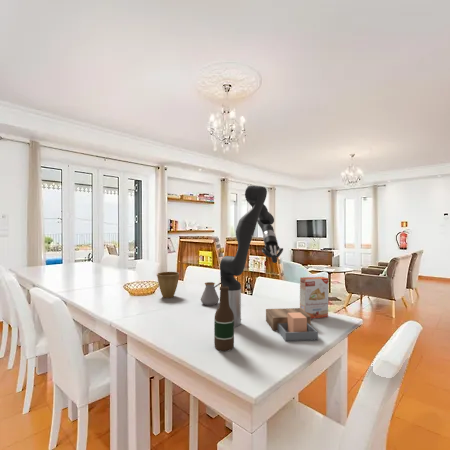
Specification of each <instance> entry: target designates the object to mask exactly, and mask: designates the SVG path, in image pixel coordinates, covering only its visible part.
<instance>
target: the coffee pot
mask: <svg viewBox="0 0 450 450" xmlns="http://www.w3.org/2000/svg"><path fill="white" fill-rule="evenodd" d="M204 285H205V287H204V289H203V290H204V291H203V292H202V295H201V297H200V302H201V303H202V304H203V305H204V306H215V305H216V304H217V303H219V302H220V297H219V295H218V293H217V290H216V288H217V287H218V286H220V285H222V284H221V281H220V282H219V283H218V284H216V283H215V282H212V281H209V282H208V281H207V282H205V283H204Z"/></svg>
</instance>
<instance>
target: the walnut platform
mask: <svg viewBox="0 0 450 450" xmlns="http://www.w3.org/2000/svg"><path fill="white" fill-rule="evenodd" d="M297 312H300V313H302V314H303V315H304V316H305V317H306V318H307V323H308V324H309V325H311V326H312V319H311V316H310V315H308V314H307V313H306V312H305V311H303V310H302V309H301V308H300V307H296V308H295V307H294V308H293V307H292V308H266V309H265V321H266V323H267V325H268V326H269V327H270V329H271V330H272V331H277V332H278V323H288V313H297Z"/></svg>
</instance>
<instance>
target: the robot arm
mask: <svg viewBox="0 0 450 450" xmlns="http://www.w3.org/2000/svg"><path fill="white" fill-rule="evenodd" d="M267 189H268V188H267V187H265V186H261V185H252V184H251V185H248V186H247V187H246V188H245V192H244V198H245V200H246V201H247V203H248V204H249V206H251V207H252V208H250V210H248V211H247V212H246V213H245V214H243V215H242V216H241V217H240V219H239V220H238V223H237V226H236V229H235V237H236V242H237V250H236V253H235V256H232V255H226V256H223V257H222V258H221V261H220V265H219V271H220V272H219V274H220V275H219V276H220V282H221V284H220V285H221V286H227V287H229V290H228V293H229V306H230V308H231V310H232V311H233V314H234V328H235V327H238V326H240V325H241V323H242V284H241V283H240V282H239V280H237V279H236V278H235V276H237V277H238V276H241V275H242V274H243V272H244V270H245V266H246V263H247V257H248V254H249V249H250V246H251V242H252V239H253V236H254V234H255V230H256V227H257V224H258V226H259V228H260V229H261V231H262V239H263V243H264V247H262V248H261V252H262V254H264V255H265V256H266V257H268V258H271V262H272V263H273V264H277V262H278V258H280V256H281V255H282V253H283V251H284V248H283V247H280V245H279V244H278V240H277V236H276V233H275V229H274V226H273V224H274V222H275V218H274V216H273V215H272V213H270V211H268V207H267V206H266V205H265V201H266V198H267V195H268V190H267Z"/></svg>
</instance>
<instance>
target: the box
mask: <svg viewBox="0 0 450 450" xmlns="http://www.w3.org/2000/svg"><path fill="white" fill-rule="evenodd" d="M277 333H278V334H279V335H280V336H281V338H282V339H283V340H284V341H285V342H305V341H306V342H307V341H308V342H309V341H318V340H319V332H318V331H317V330H316V329H315V328H314V327H313V326H312V324H311V325H309V324H308V323H307V332H289V331H288V323H278V331H277Z"/></svg>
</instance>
